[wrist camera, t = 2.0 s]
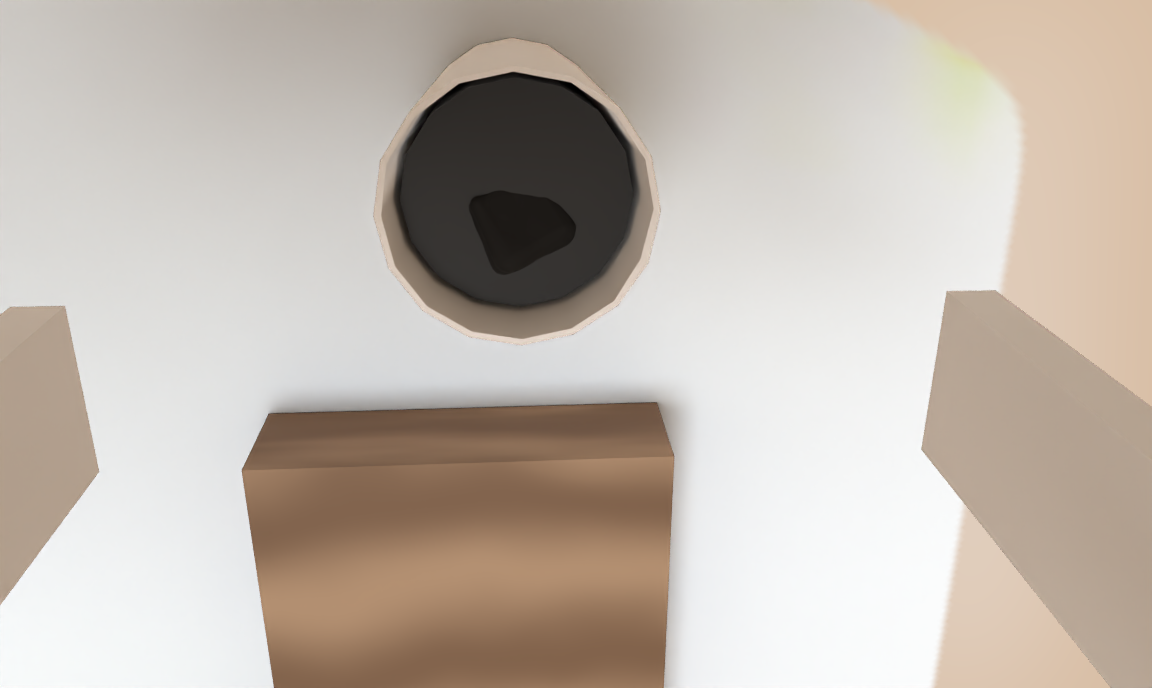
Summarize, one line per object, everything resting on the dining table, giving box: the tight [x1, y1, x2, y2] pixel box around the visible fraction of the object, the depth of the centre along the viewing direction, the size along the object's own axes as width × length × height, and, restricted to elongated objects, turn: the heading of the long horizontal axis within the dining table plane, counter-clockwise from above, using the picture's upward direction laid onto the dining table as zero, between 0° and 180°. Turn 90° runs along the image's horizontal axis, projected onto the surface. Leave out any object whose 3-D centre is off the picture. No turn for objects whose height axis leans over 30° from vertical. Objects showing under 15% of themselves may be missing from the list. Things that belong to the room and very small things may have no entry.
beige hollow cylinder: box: [373, 38, 661, 345], centre depth 28 cm, size 7×7×10 cm
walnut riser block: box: [242, 403, 674, 688], centre depth 37 cm, size 16×14×4 cm
